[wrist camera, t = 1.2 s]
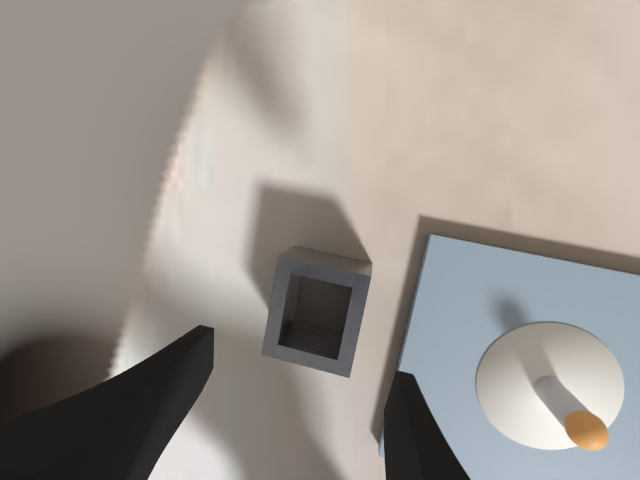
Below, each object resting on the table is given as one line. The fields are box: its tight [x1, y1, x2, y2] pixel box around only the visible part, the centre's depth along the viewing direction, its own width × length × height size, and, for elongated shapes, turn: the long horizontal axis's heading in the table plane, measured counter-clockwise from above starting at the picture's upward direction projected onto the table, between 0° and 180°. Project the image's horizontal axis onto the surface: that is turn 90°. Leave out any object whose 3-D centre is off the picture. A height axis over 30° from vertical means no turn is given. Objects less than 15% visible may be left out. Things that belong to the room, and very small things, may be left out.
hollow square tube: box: [262, 247, 372, 378], centre depth 22 cm, size 6×6×4 cm
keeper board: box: [379, 233, 640, 480], centre depth 19 cm, size 16×18×6 cm
